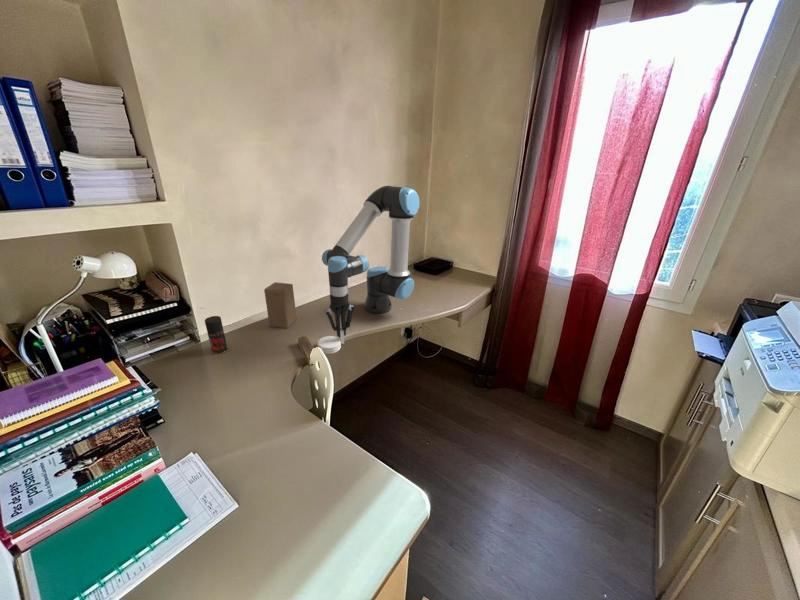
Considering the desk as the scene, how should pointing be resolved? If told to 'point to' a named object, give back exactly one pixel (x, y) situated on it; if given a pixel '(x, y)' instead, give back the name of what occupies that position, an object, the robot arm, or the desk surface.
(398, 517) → the desk surface
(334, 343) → the coaster
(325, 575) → the desk surface
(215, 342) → the deodorant
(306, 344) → the brown wooden bar
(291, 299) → the wooden block
